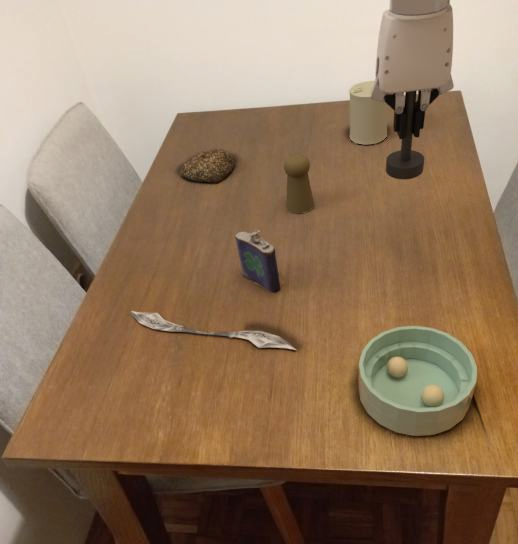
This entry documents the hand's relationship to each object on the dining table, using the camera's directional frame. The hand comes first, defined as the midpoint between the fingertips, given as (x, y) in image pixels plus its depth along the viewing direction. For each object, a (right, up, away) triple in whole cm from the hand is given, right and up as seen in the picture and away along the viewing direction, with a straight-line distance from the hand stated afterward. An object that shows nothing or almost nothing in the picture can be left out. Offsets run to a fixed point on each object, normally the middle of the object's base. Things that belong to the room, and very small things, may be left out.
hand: (407, 133), depth 82 cm
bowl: (-1, -40, -7) cm, 41 cm away
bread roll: (-35, +9, +46) cm, 59 cm away
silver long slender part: (-32, -31, +7) cm, 45 cm away
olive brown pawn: (-15, -4, +30) cm, 33 cm away
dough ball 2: (0, -40, -11) cm, 41 cm away
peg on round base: (+1, -4, +5) cm, 6 cm away
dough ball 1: (-3, -36, -6) cm, 37 cm away
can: (+4, +18, +47) cm, 51 cm away
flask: (-23, -22, +14) cm, 35 cm away
